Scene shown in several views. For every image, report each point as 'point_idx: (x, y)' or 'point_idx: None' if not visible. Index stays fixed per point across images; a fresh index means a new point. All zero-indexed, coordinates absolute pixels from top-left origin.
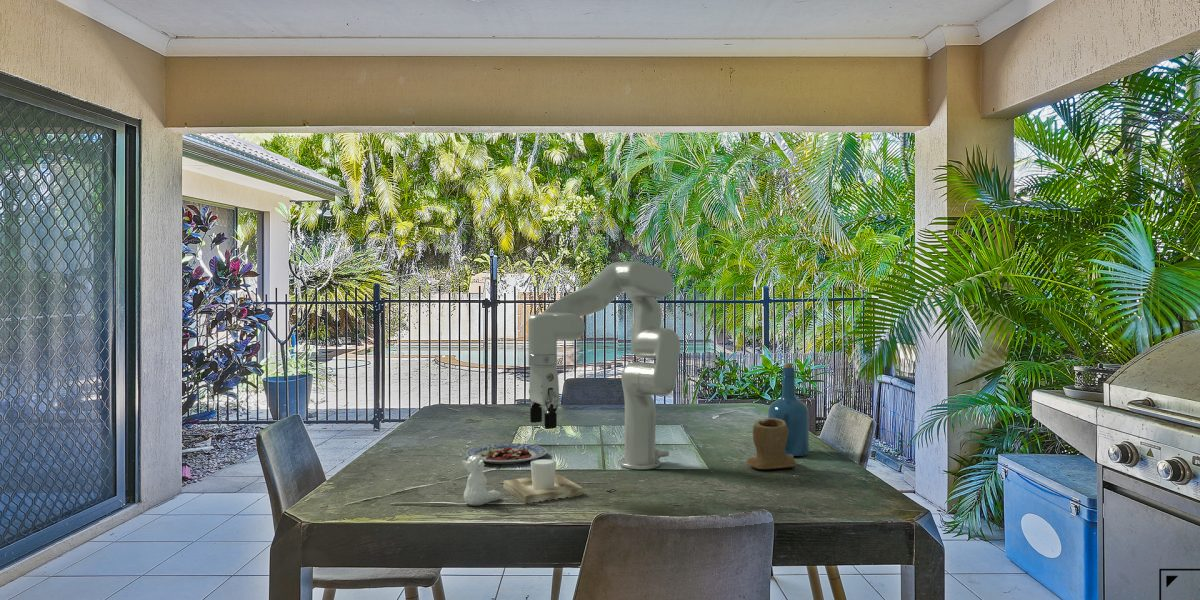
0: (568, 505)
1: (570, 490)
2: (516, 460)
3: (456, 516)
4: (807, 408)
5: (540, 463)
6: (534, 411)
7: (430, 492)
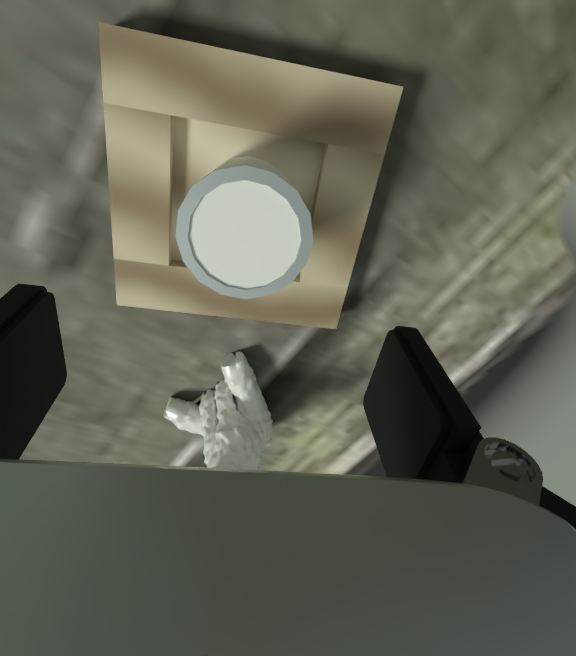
0: (441, 215)
1: (382, 154)
2: None
3: (308, 463)
4: None
5: (262, 264)
6: (8, 437)
7: (81, 454)
